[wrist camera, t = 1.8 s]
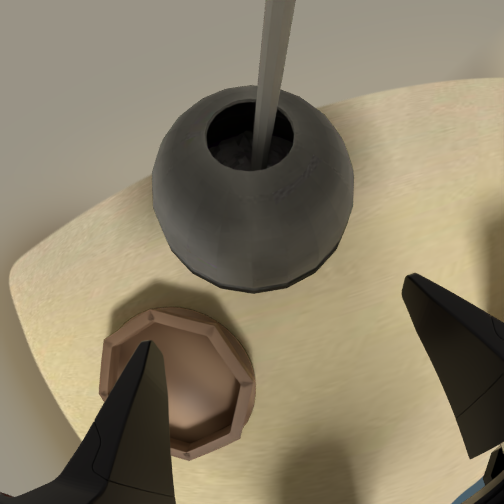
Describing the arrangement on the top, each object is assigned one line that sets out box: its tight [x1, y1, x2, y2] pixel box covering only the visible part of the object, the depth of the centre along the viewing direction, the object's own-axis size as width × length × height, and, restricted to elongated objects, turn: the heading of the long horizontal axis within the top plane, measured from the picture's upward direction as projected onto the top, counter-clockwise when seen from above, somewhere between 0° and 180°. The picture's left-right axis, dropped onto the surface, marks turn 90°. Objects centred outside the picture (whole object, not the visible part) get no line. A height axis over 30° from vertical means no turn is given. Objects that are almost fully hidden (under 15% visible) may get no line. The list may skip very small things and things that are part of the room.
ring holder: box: [99, 307, 256, 461], centre depth 19 cm, size 13×13×2 cm
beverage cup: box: [152, 0, 354, 294], centre depth 11 cm, size 7×7×20 cm
